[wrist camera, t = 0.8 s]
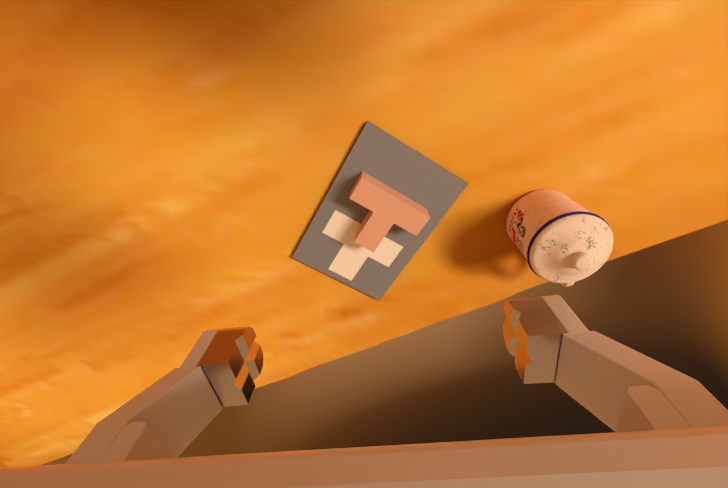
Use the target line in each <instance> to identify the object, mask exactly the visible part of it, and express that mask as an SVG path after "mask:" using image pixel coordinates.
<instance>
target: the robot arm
mask: <svg viewBox="0 0 728 488" xmlns="http://www.w3.org/2000/svg"><path fill="white" fill-rule="evenodd" d="M504 313H505V315H506V317H507V319H506V320H505V321H504V323H503V332H504V339H505V343H506V346H507V348H508V350H509V353H510V354H511V355H513V356H514V357H516V360H515V366H516V368H517V370H518V372H519V375H520V377H521V379H522V381H523V383H524V384H528V383H548V382H549V383H550V382H555V384H556V385H558V386H559V387H560V388H561V389H562V390H564V391H565V392H566V393H567V394H569V395H570V396H571V397H572V398H574V399H575V400H576V401H577V402H579V403H580V404H581V405H582V406H584V407H585V408H586V409H587V410H589V411H590V412H591V413H592V414H594V415H595V416H596V417H598V418H599V419H600V420H601V421H602V422H604V423H605V424H606V425H607V426H609V427H610V428H611V429H612V430H614V431H615V433H598V434H580V435H564V436H546V437H529V438H511V439H493V440H476V441H459V442H442V443H425V444H408V445H392V446H373V447H356V448H338V449H321V450H304V451H287V452H269V453H252V454H235V455H218V456H202V457H201V456H200V457H186V458H185V457H183V458H177V457H178V456H179V455H180V454H181V453H182V452H183V451H184V450H185V448H186V447H187V446H188V445H189V444H190V443H191V442H192V441H193V440H194V439H195V438H196V437H197V436H198V434H199V433H200V432H201V431H202V430H203V429H204V428H205V427H206V426H207V425H208V424H209V423H210V422H211V421H212V419H213V418H214V417H215V416H216V415H217V414H218V413H219V412H220V411H221V410H222V407H227V406H237V405H246V404H249V401H250V399H251V396H252V393H253V391H254V388H255V384H254V382H253V380H254V379H255V378H257V377H258V376H259V375H260V373H261V370H262V367H263V353H262V349H261V347H260V345H259V344H257V343H256V342H254V339H255V337H256V335H255V332H254V330H253V328H251V327H238V328H225V329H216V330H207V331H205V332H203V334H202V335H201V337H200V338H199V340H198V341H197V343H196V344H195V346H194V347H193V349H192V350H191V352H190V353H189V355H188V356H187V358H186V359H185V361H184V362H183V364H182V365H181V367H180V368H175V369H174V370H172V371H171V372H169V373H168V374H167V375H165V376H164V377H162V378H161V379H159V380H158V381H157V382H155V383H154V384H152V385H151V386H150V387H148V388H147V389H145V390H144V391H142V392H141V393H140V394H138V395H137V396H135V397H134V398H133V399H131V400H130V401H128V402H127V403H125V404H124V405H123V406H121V407H120V408H118V409H117V410H116V411H114V412H113V413H111V414H110V415H109V416H107V417H106V418H104V419H103V420H101V421H100V422H99V423H97V425H96V426H95V427H94V428H93V430H92V431H91V432H90V433H89V435H88V436H87V437H86V438H85V440H84V441H83V442H82V444H81V445H80V446H79V447H78V449H77V450H76V451H75V452H74V454H73V455H72V456H71V457H70V459H69V460H68V461H67V462H66V464H63V465H46V466H29V467H12V468H0V488H728V410H727V409H726V408H725V407H724V406H723V405H721V403H720V402H719V401H718V400H717V399H716V398H715V397H714V396H713V395H711V393H709V391H708V390H706V388H704V387H703V386H702V385H701V384H700V383H699V382H698V381H697V380H695V379H693V378H691V377H689V376H687V375H685V374H683V373H681V372H678V371H676V370H674V369H672V368H670V367H668V366H666V365H664V364H662V363H660V362H658V361H656V360H653V359H651V358H649V357H647V356H645V355H643V354H641V353H639V352H637V351H635V350H633V349H631V348H628V347H627V346H625V345H622V344H620V343H618V342H616V341H614V340H612V339H610V338H608V337H606V336H604V335H602V334H600V333H598V332H596V331H588V329H587V328H586V327H585V326H584V325H583V324H582V322H581V321H580V320H579V318H578V317H577V316H576V315H575V314H574V312H573V311H572V310H571V309H570V307H569V306H568V305H567V304H566V303H565V301H564V300H563V299H562V298H561V296H559V295H551V296H543V297H539V298H529V299H519V300H510V301H505V304H504Z"/></svg>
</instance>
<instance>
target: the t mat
mask: <svg viewBox="0 0 728 488" xmlns="http://www.w3.org/2000/svg"><path fill="white" fill-rule="evenodd" d="M362 171H363V172H365V173H366V174H368V175H370V176H372V177H373V178H375V179H377V180H378V181H380V182H382V183H384V184H385V185H387V186H389V187H390V188H392V189H394V190H396V191H397V192H399V193H401V194H403V195H404V196H406V197H408V198H409V199H411V200H413V201H415V202H416V203H418V204H420V205H421V206H423V207H425V208H427V210H428V213H429V216H430V219H429V220H428V222H427V223H426V224H425V226H424V227H423V228H422V230H421V231H420V232H419V234H418V235H417V236H416V235H414V234H412V233H410V232H408V231H407V230H405V229H403V228H401V227H399V226H398V225H396V224H393V225H392V227H391V228H390V230H389V231H388V233H387V234H386V235H385V237H384V238H383V240H382V241H381V243H380V244H379V246H378V247H377V248H376V250H375V251H374V252H372V251H370V250H368V249H366V248H364V247H362V246H361V245H359V244H357V243H355V242H354V240H355V233H356V231H357V229H358V228H359V226H360V225H361V223H362V221H363V220H364V218H365V217H366V215H367V214H368V212H369V209H367V208H365V207H364V206H362V205H360V204H358V203H356V202H355V201H353V200H351V199H349V198H350V193H351V190H352V188H353V187H354V185H355V183H356V181H357V180H358V178H359V176H360V175H361V173H362ZM467 185H468V183H467V182H465V181H464V180H462V179H461V178H459V177H457V176H456V175H454V174H452V173H451V172H449V171H448V170H446V169H444V168H443V167H441V166H440V165H438V164H436V163H435V162H433V161H432V160H430V159H428V158H427V157H425V156H423V155H422V154H420V153H419V152H417V151H415V150H414V149H412V148H411V147H409V146H407V145H406V144H404V143H402V142H401V141H399V140H398V139H396V138H394V137H393V136H391V135H390V134H388V133H386V132H385V131H383V130H382V129H380V128H378V127H377V126H375V125H373V124H372V123H370V122H369V121H367V123H366V125H365V126H364V128H363V130H362V132H361V134H360V135H359V137H358V139H357V141H356V143H355V144H354V146H353V148H352V150H351V152H350V153H349V155H348V157H347V159H346V161H345V162H344V164H343V166H342V168H341V170H340V171H339V173H338V175H337V177H336V179H335V180H334V182H333V184H332V186H331V188H330V189H329V191H328V193H327V195H326V197H325V198H324V200H323V202H322V204H321V206H320V207H319V209H318V211H317V213H316V215H315V216H314V218H313V220H312V222H311V224H310V225H309V227H308V229H307V231H306V233H305V234H304V236H303V238H302V240H301V242H300V243H299V245H298V247H297V249H296V251H295V252H294V254H293V256H292V258H294V259H296V260H298V261H300V262H302V263H304V264H306V265H308V266H310V267H312V268H314V269H316V270H318V271H320V272H322V273H324V274H326V275H328V276H330V277H332V278H334V279H336V280H338V281H340V282H342V283H344V284H346V285H349V286H351V287H353V288H355V289H357V290H359V291H361V292H363V293H365V294H367V295H369V296H371V297H373V298H375V299H377V300H380V299H381V297H382V296H383V295H384V293H385V292H386V291H387V289H388V288H389V287H390V286H391V284H392V283H393V282H394V280H395V279H396V278H397V276H398V275H399V274H400V272H401V271H402V270H403V269H404V267H405V266H406V265H407V263H408V262H409V261H410V259H411V258H412V257H413V255H414V254H415V253H416V252H417V250H418V249H419V248H420V246H421V245H422V244H423V242H424V241H425V240H426V238H427V237H428V236H429V235H430V233H431V232H432V231H433V229H434V228H435V227H436V225H437V224H438V223H439V221H440V220H441V219H442V218H443V216H444V215H445V214H446V212H447V211H448V210H449V208H450V207H451V206H452V205H453V203H454V202H455V201H456V199H457V198H458V197H459V195H460V194H461V193H462V191H463V190H464V189H465V188H466V186H467Z"/></svg>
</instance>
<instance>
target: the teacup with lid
mask: <svg viewBox="0 0 728 488" xmlns="http://www.w3.org/2000/svg"><path fill="white" fill-rule="evenodd" d="M506 229H507V233H508V235H509V237H510V238H511V240H512V241H513V242H514V244H515V245H516V246H517V248H518V249H519V250H520V252H521V253H522V254H523V256H524V257H525V258H526V260H527V261H528V264H529V266H530V268H531V270H532V271H533V272H534V273H535V274H536V275H537V276H539V277H540V278H542V279H544V280H547V281H550V282H554V283H561V284H562V285H563V286H565V287H567V286H571V285H573V284H574V282H575V281H578V280H581V279H584V278H586V277H588V276H590V275H591V274H593V273H594V272H596V271H597V270H598V269H599V268H600V267H601V266H602V265H603V264H604V263H605V262H606V260H607V259H608V257H609V256H610V253H611V251H612V248H613V234H612V231H611V229H610V226H609V225H608V223H607V222H606V221H605V220H604V219H603V218H601V217H600V216H598V215H596V214H593V213H590V212H588V211H587V210H586V209H584V208H583V207H581V206H580V205H578V204H577V203H576V202H574V201H573V200H571V199H570V198H568V197H567V196H566V195H564V194H563V193H561V192H558V191H556V190H550V189H543V190H537V191H534V192H531V193H529V194H527V195H525V196H523V197H522V198H520V199H519V200H518V201H517V202H516V203H515V204H514V205H513V207H512V208H511V210H510V211H509V213H508V216H507V220H506Z"/></svg>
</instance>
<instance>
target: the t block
mask: <svg viewBox="0 0 728 488" xmlns="http://www.w3.org/2000/svg"><path fill="white" fill-rule="evenodd" d="M349 199H351V200H353V201H355V202H356V203H358V204H360V205H362V206H364V207H365V208H367V209H369V212H368V214H367V215H366V217H365V218H364V220H363V221H362V223H361V225H360V226H359V228H358V229H357V231H356V233H355V240H354V242H355V243H357V244H359V245H361V246H362V247H364V248H366V249H368V250H370V251H372V252H374V251H375V250H376V248H377V247H378V246H379V244H380V243H381V241H382V240H383V238H384V237H385V235H386V234H387V233H388V231H389V230H390V228H391V227H392V225H393V224H396V225H398V226H399V227H401V228H403V229H405V230H407V231H408V232H410V233H412V234H414V235H416V236H417V235H418V234H419V232H420V231H421V230H422V228H423V227H424V226H425V224H426V223H427V222H428V220H429V219H430V216H429V213H428V210H427V208H425V207H423V206H421V205H420V204H418V203H416V202H415V201H413V200H411V199H409V198H408V197H406V196H404V195H403V194H401V193H399V192H397V191H396V190H394V189H392V188H390V187H389V186H387V185H385V184H384V183H382V182H380V181H378V180H377V179H375V178H373V177H372V176H370V175H368V174H366V173H365V172H363V171H362V173H361V175H360V176H359V178H358V180H357V181H356V183H355V185H354V187H353V188H352V190H351V193H350V198H349Z"/></svg>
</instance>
